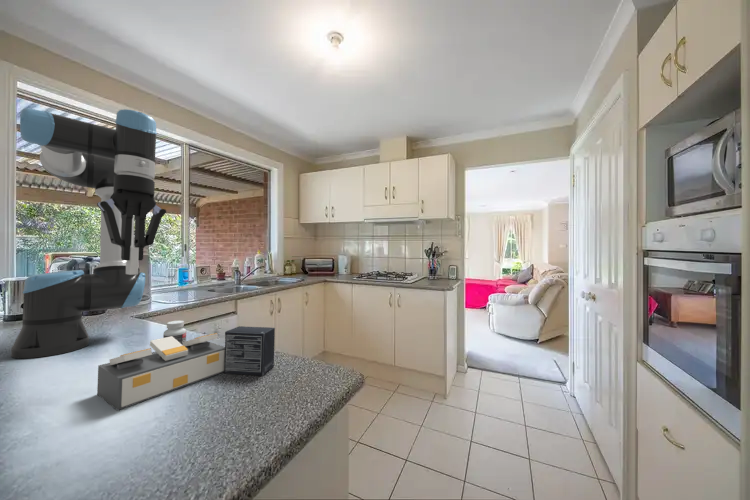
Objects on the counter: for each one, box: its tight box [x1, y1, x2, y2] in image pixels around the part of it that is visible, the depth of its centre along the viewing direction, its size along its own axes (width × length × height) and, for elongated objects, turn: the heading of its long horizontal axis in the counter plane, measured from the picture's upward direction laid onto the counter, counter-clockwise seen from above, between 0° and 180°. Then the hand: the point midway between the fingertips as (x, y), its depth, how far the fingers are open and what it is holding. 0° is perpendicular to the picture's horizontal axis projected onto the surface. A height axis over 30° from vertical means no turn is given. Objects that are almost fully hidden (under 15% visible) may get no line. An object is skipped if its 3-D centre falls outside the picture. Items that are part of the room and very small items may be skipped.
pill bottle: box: [162, 320, 187, 345], centre depth 80 cm, size 5×5×10 cm
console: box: [96, 341, 225, 411], centre depth 64 cm, size 11×21×7 cm, turn 149°
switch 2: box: [149, 336, 188, 361], centre depth 64 cm, size 8×4×1 cm, turn 59°
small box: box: [223, 325, 276, 377], centre depth 72 cm, size 11×6×10 cm, turn 84°
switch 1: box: [109, 347, 153, 365], centre depth 58 cm, size 8×4×1 cm, turn 60°
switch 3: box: [183, 332, 219, 347], centre depth 70 cm, size 8×4×1 cm, turn 60°
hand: (131, 274), depth 67 cm, fingers closed
